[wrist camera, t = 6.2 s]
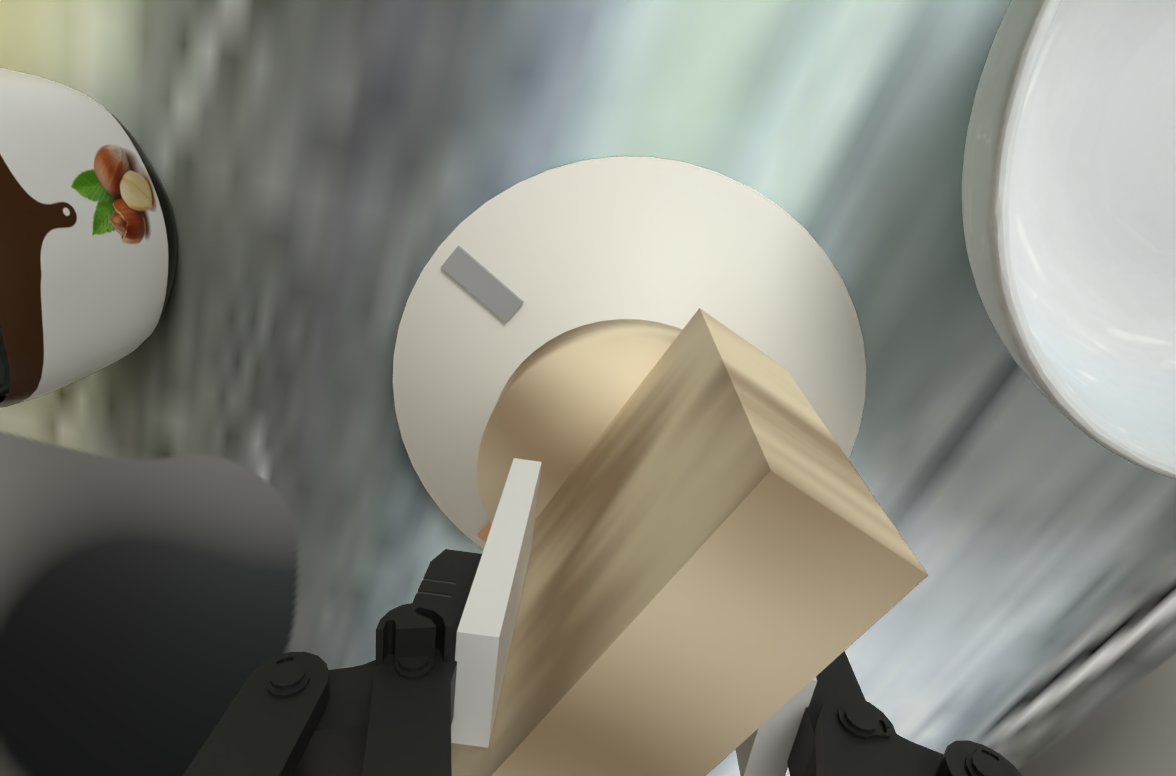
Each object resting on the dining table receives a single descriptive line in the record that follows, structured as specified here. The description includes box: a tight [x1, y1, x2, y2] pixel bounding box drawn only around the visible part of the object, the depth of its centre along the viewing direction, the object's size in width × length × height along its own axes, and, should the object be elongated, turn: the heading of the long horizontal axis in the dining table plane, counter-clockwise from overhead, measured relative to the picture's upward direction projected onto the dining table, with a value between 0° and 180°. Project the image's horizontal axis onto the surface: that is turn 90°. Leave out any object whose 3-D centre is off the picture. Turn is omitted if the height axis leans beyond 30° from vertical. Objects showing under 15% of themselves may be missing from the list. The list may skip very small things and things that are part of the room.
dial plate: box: [393, 156, 866, 550], centre depth 24 cm, size 18×18×5 cm
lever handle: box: [451, 308, 928, 776], centre depth 16 cm, size 12×9×11 cm
